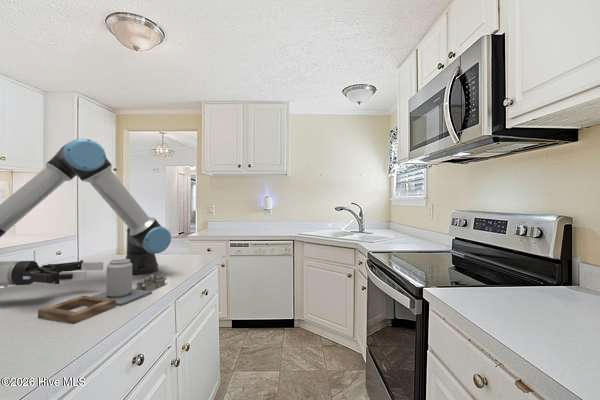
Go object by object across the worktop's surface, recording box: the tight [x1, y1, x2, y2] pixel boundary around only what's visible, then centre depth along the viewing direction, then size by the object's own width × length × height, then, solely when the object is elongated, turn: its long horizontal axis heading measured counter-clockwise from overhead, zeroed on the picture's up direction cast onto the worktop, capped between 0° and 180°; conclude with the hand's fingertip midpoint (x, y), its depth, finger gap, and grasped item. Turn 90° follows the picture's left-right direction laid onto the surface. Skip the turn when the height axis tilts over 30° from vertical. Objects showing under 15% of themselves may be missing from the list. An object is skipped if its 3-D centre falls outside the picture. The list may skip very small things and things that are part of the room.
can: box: [105, 258, 133, 298], centre depth 98 cm, size 8×8×12 cm
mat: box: [90, 288, 153, 307], centre depth 98 cm, size 13×15×1 cm
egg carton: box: [134, 274, 167, 291], centre depth 111 cm, size 11×8×4 cm
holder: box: [37, 295, 117, 325], centre depth 85 cm, size 13×13×2 cm
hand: (95, 270), depth 96 cm, fingers open, 13 cm apart
